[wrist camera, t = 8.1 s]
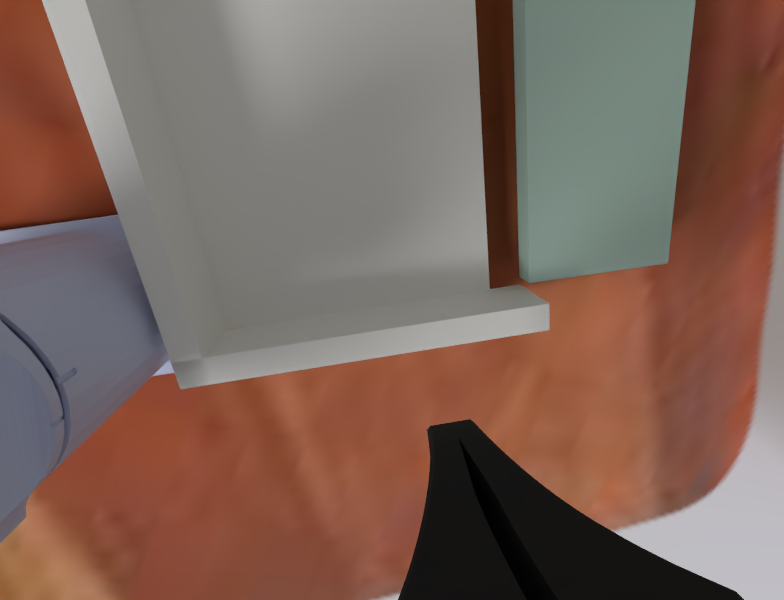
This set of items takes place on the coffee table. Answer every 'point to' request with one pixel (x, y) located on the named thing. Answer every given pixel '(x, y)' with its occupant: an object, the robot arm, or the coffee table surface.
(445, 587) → the robot arm
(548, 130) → the panel
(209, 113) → the grey open tray
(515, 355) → the coffee table surface
